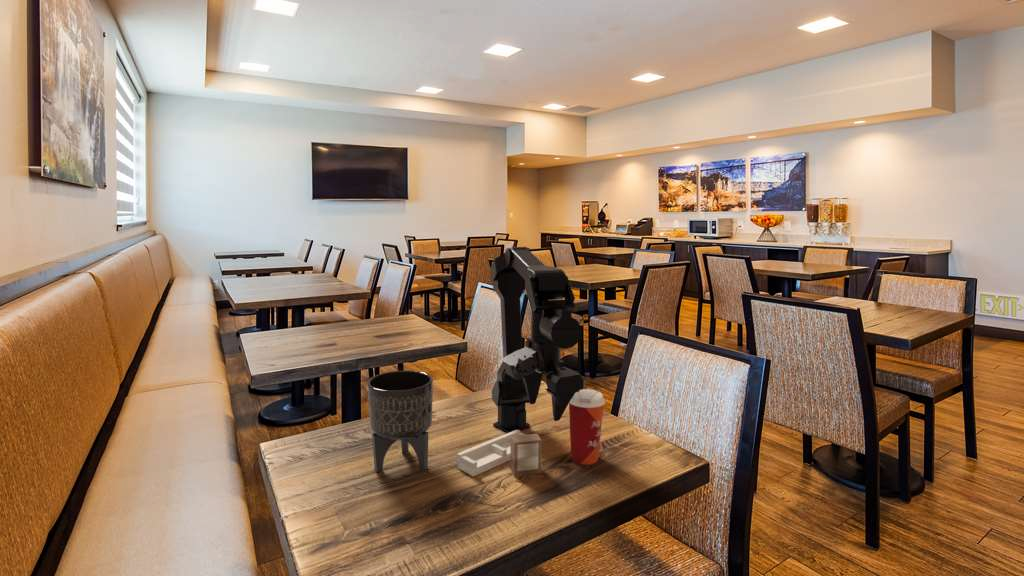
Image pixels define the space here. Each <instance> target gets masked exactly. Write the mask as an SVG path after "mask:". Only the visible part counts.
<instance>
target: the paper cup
mask: <svg viewBox="0 0 1024 576" xmlns="http://www.w3.org/2000/svg"><path fill="white" fill-rule="evenodd" d="M605 404H606V399H605V398H604V395H603V393H601V392H600V391H597V390H595V389H587V388H586V389H585V388H584V389H583V390H580V391H579V392H576V393H575V394H574V396H573V397H572V399H571V400H570V402H569V404H568V407H569V409H568V411H569V414H568V415H569V441H570V456H571V457H570V458H571V460H572V461H573V463H576V464H579V465H583V466H584V465H585V466H589V465H594V464H596V463H597V462H598V460H599V455H600V453H599V452H600V445H601V436H602V433H601V432H602V426H603V425H602V423H603V413H604V405H605Z"/></svg>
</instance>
